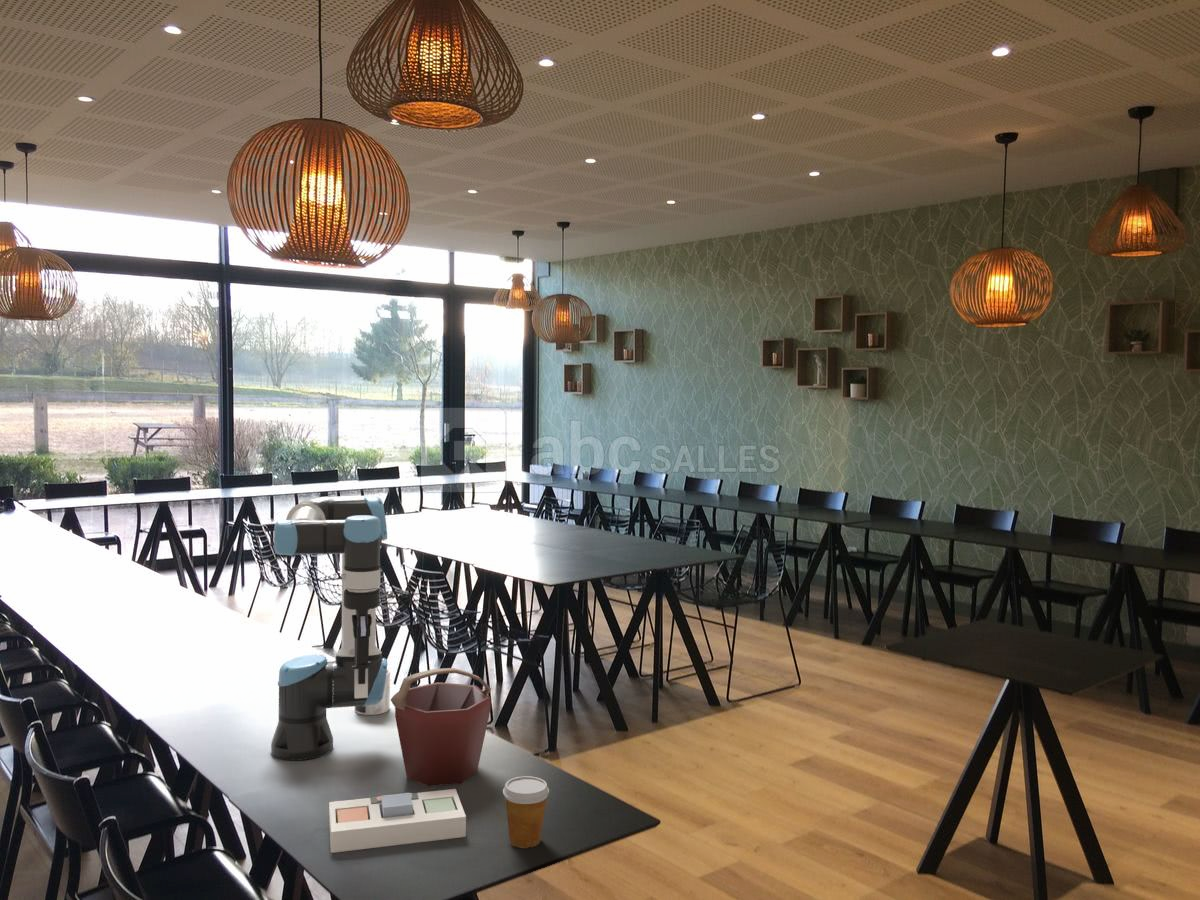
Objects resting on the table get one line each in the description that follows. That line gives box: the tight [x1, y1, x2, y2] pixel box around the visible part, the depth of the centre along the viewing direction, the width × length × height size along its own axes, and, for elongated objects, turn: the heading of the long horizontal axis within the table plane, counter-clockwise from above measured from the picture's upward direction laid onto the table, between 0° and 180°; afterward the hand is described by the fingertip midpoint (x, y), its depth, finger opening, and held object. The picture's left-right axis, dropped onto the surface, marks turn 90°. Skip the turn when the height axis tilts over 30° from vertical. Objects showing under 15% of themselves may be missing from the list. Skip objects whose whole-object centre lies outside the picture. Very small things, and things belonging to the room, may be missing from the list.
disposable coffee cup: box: [502, 775, 550, 849], centre depth 194 cm, size 10×10×12 cm
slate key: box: [380, 792, 413, 818], centre depth 198 cm, size 6×6×2 cm
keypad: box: [328, 788, 467, 854], centre depth 198 cm, size 14×27×5 cm, turn 107°
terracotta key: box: [337, 807, 368, 823], centre depth 196 cm, size 6×6×2 cm
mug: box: [354, 668, 391, 716], centre depth 270 cm, size 10×12×11 cm
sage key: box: [424, 798, 456, 813], centre depth 201 cm, size 6×6×2 cm
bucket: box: [390, 667, 492, 787], centre depth 228 cm, size 24×22×25 cm
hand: (361, 696), depth 202 cm, fingers closed
